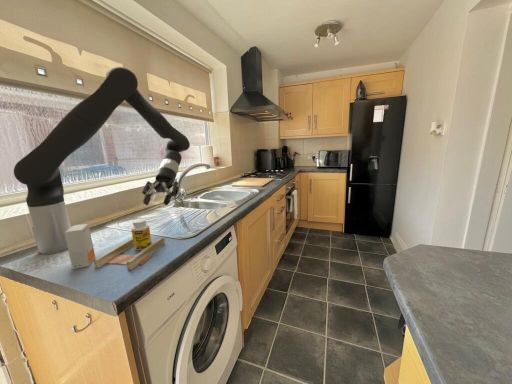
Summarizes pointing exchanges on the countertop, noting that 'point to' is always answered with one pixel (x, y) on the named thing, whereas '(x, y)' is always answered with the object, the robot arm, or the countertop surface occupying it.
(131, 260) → the guide channel
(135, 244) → the supplement bottle
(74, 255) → the skincare box
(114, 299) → the countertop surface
